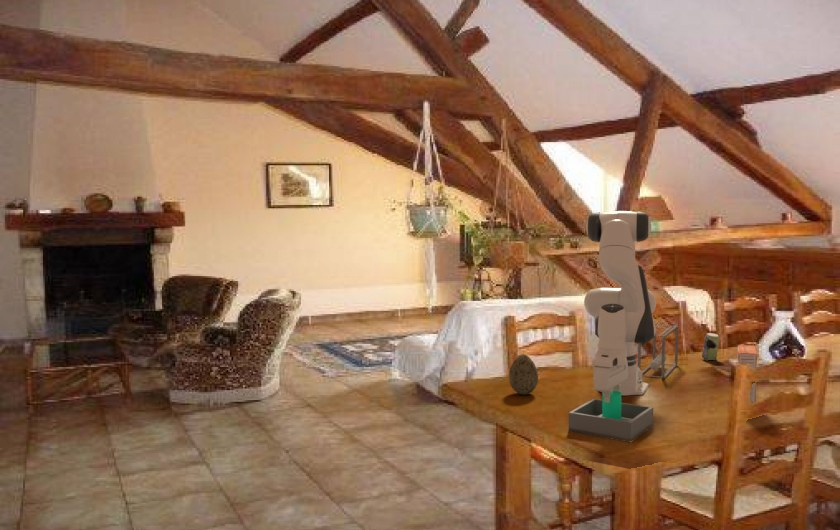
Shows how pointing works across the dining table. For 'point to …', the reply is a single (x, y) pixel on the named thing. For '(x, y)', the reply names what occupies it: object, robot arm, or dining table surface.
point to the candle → (612, 406)
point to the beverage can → (710, 346)
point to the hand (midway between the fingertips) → (611, 399)
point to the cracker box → (749, 357)
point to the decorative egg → (523, 375)
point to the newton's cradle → (661, 357)
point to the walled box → (611, 421)
